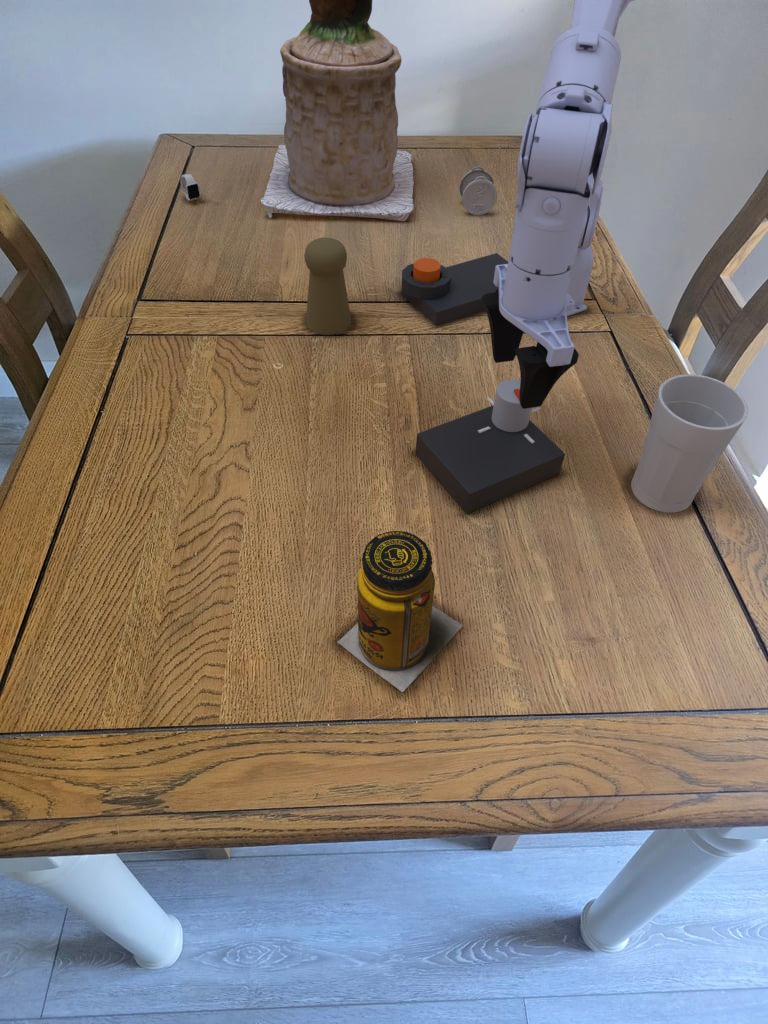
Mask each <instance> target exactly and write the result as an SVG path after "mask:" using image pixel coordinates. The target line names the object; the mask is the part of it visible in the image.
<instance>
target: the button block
mask: <svg viewBox="0 0 768 1024" xmlns="http://www.w3.org/2000/svg"><path fill="white" fill-rule="evenodd" d="M508 261H509V260H507V259H505V258H504V257H503V256H502V255H500V254H499V253H497V252H495V253H492V254H487V255H485V256H481V257H477V258H474V259H471V260H467V261H464V262H460V263H457V264H453V265H450V266H444V265H442V264H441V269H440V278H439V280H438V281H435V282H432V283H425V282H420V281H417V280H415V279H414V278H413V266H414V262H413V263H410V264H408V265H406V266H405V267H404V268H403V269H402V270H401V295H402V296H403V297H404V298H405V299H406V300H407V301H408V302H409V303H410V304H411V305H412V306H414V307H415V308H416V309H417V310H418V311H419V313H421V314H422V315H423V316H424V317H425V318H426V319H428V321H429V322H430V323H432V324H433V325H434V327H437V326H441V325H444V324H447V323H450V322H454V321H456V320H457V321H458V320H460V319H463V318H466V317H469V316H472V315H476V314H479V313H483V312H486V309H485V307H484V304H483V302H482V296H483V295H484V294H487V293H493V292H496V290H498V287H496V286H495V284H494V283H493V281H494V274H495V268H496V265H503V264H508Z"/></svg>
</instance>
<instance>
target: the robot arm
mask: <svg viewBox="0 0 768 1024" xmlns="http://www.w3.org/2000/svg"><path fill="white" fill-rule="evenodd" d="M634 1H635V0H574V1H573V8H572V15H571V23H570V28H569V29H568V30H566V31H565V32H563V33H562V34H561V35H560V36H559V37H557V39H556V40H555V41H554V43H553V45H552V46H551V49H550V52H549V57H548V60H547V65H546V69H545V73H544V77H543V81H542V86H541V88H540V94H539V98H538V101H537V106H536V109H535V114H533V113H532V112H530V113H529V114H528V117H527V119H526V122H525V126H524V129H523V132H522V137H521V143H520V146H519V154H518V161H517V171H516V172H517V175H516V176H517V187H516V188H517V189H516V197H515V203H514V204H515V205H514V209H515V214H514V219H513V226H512V227H513V228H512V237H511V244H510V250H509V255H508V260H507V261H508V264H503V265H496V268H495V274H494V281H493V283H494V284H495V286H496V287H498V290H496V292H493V293H487V294H484V295H483V296H482V302H483V304H484V307H485V309H486V310H485V312H486V316H487V320H488V324H489V330H490V339H491V348H492V349H491V350H492V351H491V352H492V358H493V361H494V362H495V364H498V363H506V362H512V361H515V359H517V361H518V365H519V372H520V380H521V383H520V395H519V399H520V405H521V407H522V408H523V409H527V408H532V409H534V408H538V407H541V406H543V403H544V402H545V400H546V399H547V397H548V395H549V394H550V392H551V391H552V389H553V387H554V386H555V384H556V383H557V382H558V381H559V379H560V378H561V377H562V376H563V375H564V374H565V373H566V372H568V370H570V369H571V368H572V367H573V366H575V365H576V364H577V363H578V360H579V356H580V353H579V352H578V350H577V349H576V346H575V345H574V343H573V341H572V339H571V337H570V330H569V322H568V317H570V316H572V315H576V314H579V313H582V312H585V311H587V310H588V306H587V304H585V303H584V302H585V299H586V294H587V291H588V287H589V283H590V280H591V275H592V271H593V267H594V253H593V248H592V243H593V240H594V235H595V232H596V227H597V224H598V218H599V214H600V210H601V206H602V198H603V193H604V186H603V182H602V180H601V178H602V174H603V170H604V165H605V163H606V162H605V161H606V158H607V154H608V150H609V145H610V140H611V134H612V122H613V121H612V120H613V119H612V113H613V108H614V104H613V98H614V93H615V88H616V83H617V79H618V75H619V70H620V66H621V60H622V51H621V47H620V45H619V41H618V40H617V39H616V38H615V37H616V33H617V28H618V24H619V20H620V19H621V16H622V15H623V14H624V12H625V10H626V9H627V7H628V5H629V4H630V3H631V2H634ZM524 333H525V334H526V335H527V336H528V337H530V338H532V339H533V340H534V341H536V345H531V346H523V347H520V345H521V342H522V338H523V335H524Z"/></svg>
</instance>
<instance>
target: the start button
mask: <svg viewBox="0 0 768 1024" xmlns="http://www.w3.org/2000/svg"><path fill="white" fill-rule="evenodd" d="M413 263H414V266H413V278H414V279H415V280H417V281H420V282H425V283H432V282H435V281H438V280H439V278H440V269H441V265H442V264H441V263H440V261H438V260H437V259H435V258H431V257H421V258H418V259H416V260H415V261H414V262H413Z"/></svg>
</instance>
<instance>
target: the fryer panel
mask: <svg viewBox="0 0 768 1024" xmlns="http://www.w3.org/2000/svg"><path fill="white" fill-rule="evenodd" d="M486 400H487V401H488V403H490V404H491V405H490V406H487V407H485V408H482V409H479V410H476V411H473V412H471V413H469V414H466V415H463V416H460V417H458V418H455V419H452V420H450V421H447V422H444V423H442V424H439V425H437V426H434V427H430V428H428V429H425V430H423V431H421V432H418V433H416V441H415V442H416V443H415V456H417V458H418V459H419V460H420V461H421V463H422V464H423V465H424V466H425V467H426V469H428V471H429V472H430V473H431V474H432V475H433V477H434V478H435V479H436V480H437V481H438V483H440V485H441V486H442V487H443V488H444V489H445V490H446V492H447V493H448V494H449V495H450V497H451V498H452V499H453V500H454V501H455V502H456V504H458V506H459V507H460V508H461V509H462V511H463V512H464V513H465V514H470V513H473V512H474V511H477V510H479V509H481V508H484V507H486V506H488V505H491V504H493V503H495V502H498V501H500V500H502V499H505V498H507V497H510V496H511V495H514V494H516V493H518V492H521V491H524V490H526V489H529V488H530V487H533V486H535V485H537V484H539V483H541V482H544V481H547V480H549V479H552V478H554V477H556V476H558V475H560V473H561V470H562V466H563V463H564V460H565V457H566V453H565V452H564V451H563V450H562V449H561V448H560V447H559V446H558V445H557V444H556V443H555V442H553V440H551V439H550V437H548V436H547V435H546V434H545V433H544V432H543V431H542V429H540V428H538V426H537V425H536V424H534V423H533V422H532V420H531V419H529V423H528V426H527V427H526V428H525V429H524V430H522V431H519V432H506V431H503V430H501V429H499V428H497V427H496V426H495V425H494V424H493V422H492V412H493V406H494V401H495V400H493V399H492V398H491V397H487V398H486ZM541 410H542V408H541V406H539V407H534V408H532V410H531V414H535V413H537V412H538V411H541Z"/></svg>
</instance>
